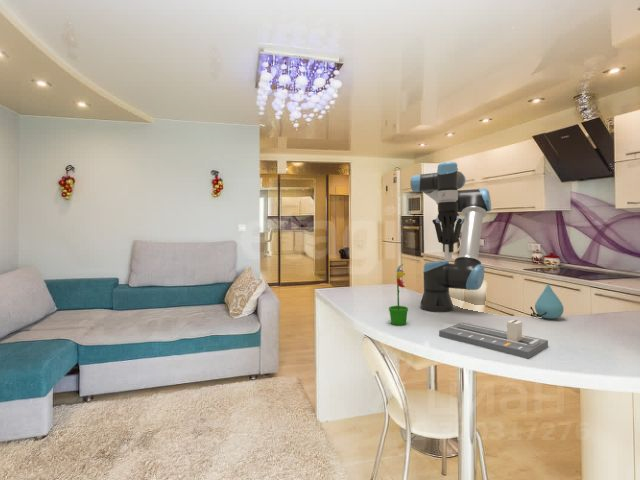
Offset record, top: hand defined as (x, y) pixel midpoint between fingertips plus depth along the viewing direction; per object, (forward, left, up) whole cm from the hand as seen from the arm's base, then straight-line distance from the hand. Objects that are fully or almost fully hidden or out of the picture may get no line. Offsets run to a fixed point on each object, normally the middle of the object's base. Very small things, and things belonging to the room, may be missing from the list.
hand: (448, 260), depth 141 cm
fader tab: (+7, +28, -24) cm, 38 cm away
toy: (-40, +22, -27) cm, 53 cm away
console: (+7, +20, -26) cm, 34 cm away
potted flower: (+12, -16, -27) cm, 33 cm away
